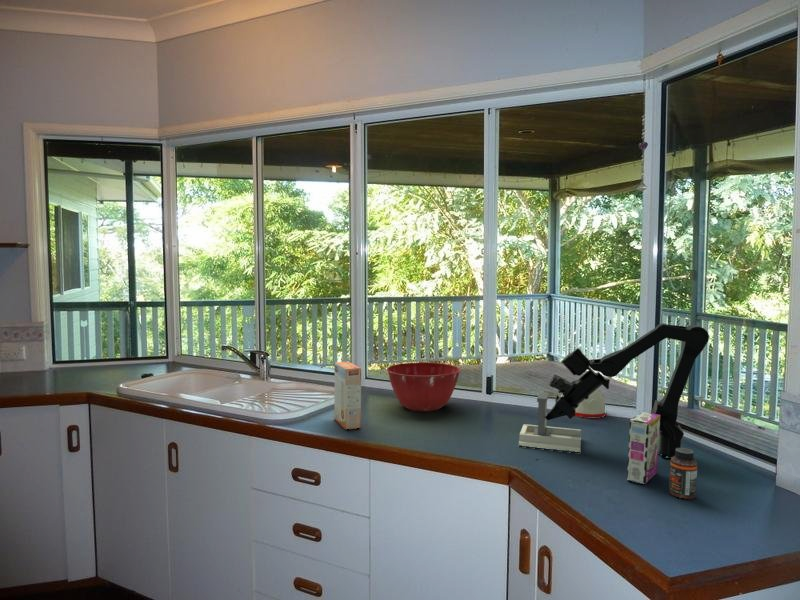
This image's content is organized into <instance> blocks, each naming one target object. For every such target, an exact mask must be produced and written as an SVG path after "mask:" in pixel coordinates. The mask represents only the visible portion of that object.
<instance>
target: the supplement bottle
mask: <svg viewBox="0 0 800 600" xmlns="http://www.w3.org/2000/svg"><path fill="white" fill-rule="evenodd" d="M694 454H695V453H694V450H692V449H691V448H686V447H681V448H676V449H675V456H673V457H672V458H671V459H670V462H669V464H670V466H669V482H668V483H669V485H668V492H669V494H670V493H671V494H670V495H671V496H673V495H674V496H673V497H675V496H676V497H675V498H677V497H679V498H678V499H681V498H684V499H683V500H692V499H695V498H696V496H697V495H696V494H697V481H698V480H697V479H698V462H697V460H696V459H695V458H694V456H695V455H694Z"/></svg>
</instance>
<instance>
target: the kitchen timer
mask: <svg viewBox="0 0 800 600" xmlns="http://www.w3.org/2000/svg"><path fill="white" fill-rule="evenodd" d="M577 380H578V379H576V381H577ZM604 396H605V395H604V394H603V393H602V392H601V391H600V388H598V389H597V390H596V391H594V392H593V393H592V394H591V395H590V396H589V398H588V399H587V400H586V399H585V400H583V401H582V402H581V403H580V404H579V406H578V407H577V408H576V412H575V416H574V417H576V416H580V417H602V416H604V415H605V405H606V403H605V397H604ZM580 417H579V418H580Z"/></svg>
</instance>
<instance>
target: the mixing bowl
mask: <svg viewBox="0 0 800 600" xmlns="http://www.w3.org/2000/svg"><path fill="white" fill-rule="evenodd" d="M386 371H387V374H388V379H389V382H390V384H391V388H392V390H393V393H394V394H395V397H396V399H397V401H398V402H399V403H400V404H401V406H403V407H404V408H406V409H407V410H409V411H413V412H419V413H421V412H425V413H426V412H434V411H438V410H440V409H441V408H442V407H444V406H445V405H446V404H448V402H449V401H450V399H451V397H452V395H453V392H454V390H455V388H456V386H457V382H458V378H459V375H460V373H461V368H460V367H459V366H457V365H453V364H448V363H441V362H424V361H423V362H418V361H417V362H405V363H404V362H403V363H396V364H392V365H390V366H387V367H386Z"/></svg>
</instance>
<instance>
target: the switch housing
mask: <svg viewBox="0 0 800 600" xmlns="http://www.w3.org/2000/svg"><path fill="white" fill-rule="evenodd" d="M535 428H538V424H537V425H535V424H525V423H523V425H522V428H521V430H520V432H519V438H518V439H519V440H518V446H519V445H522V446H529V447H537V448H546V449H557V450H569V451H575V452H580V453H581V445H582V429H580V428H579V429H578V428H568V427H557V426H549V425H546V429H551V435H550V436H541V435H533V432H534V429H535Z"/></svg>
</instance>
